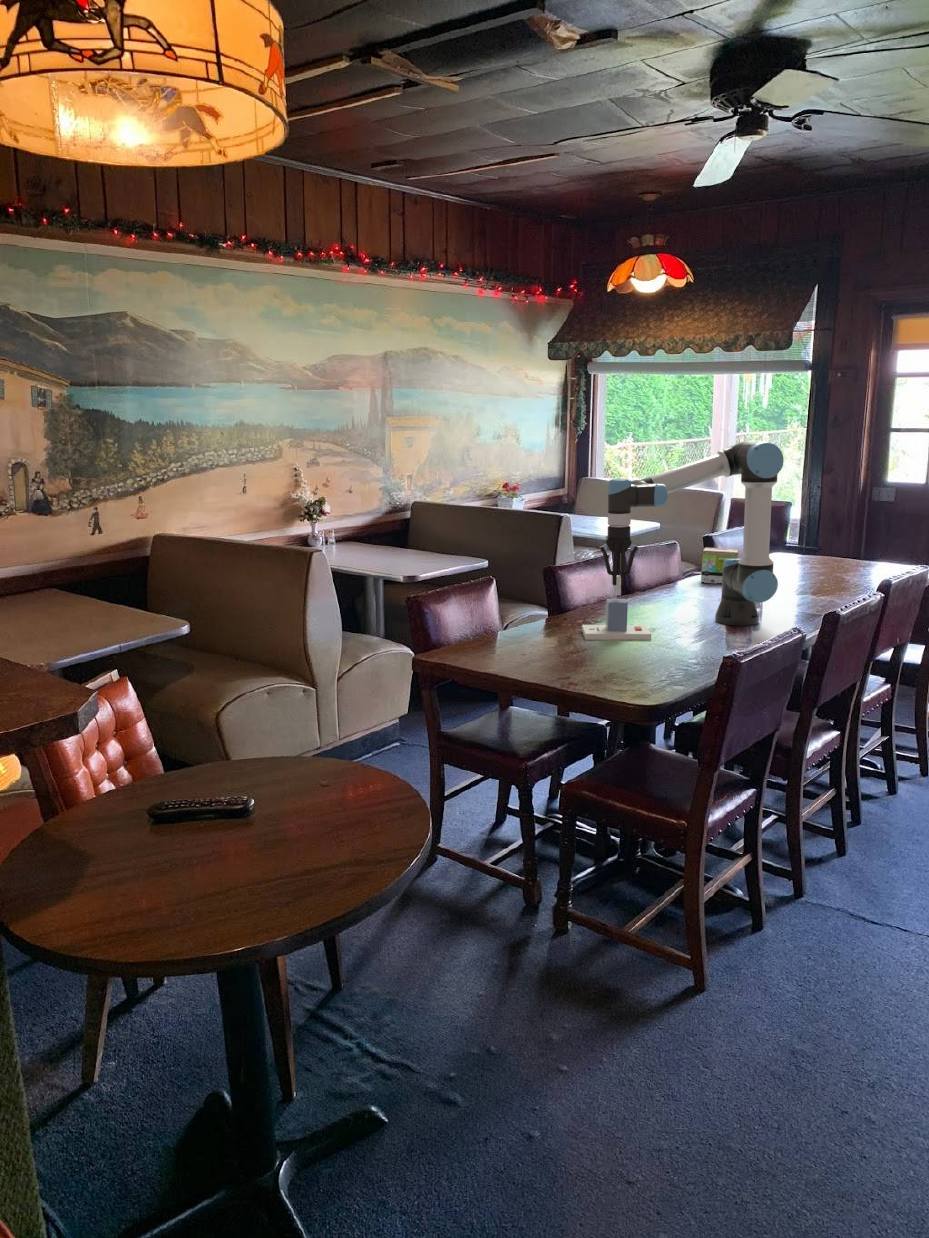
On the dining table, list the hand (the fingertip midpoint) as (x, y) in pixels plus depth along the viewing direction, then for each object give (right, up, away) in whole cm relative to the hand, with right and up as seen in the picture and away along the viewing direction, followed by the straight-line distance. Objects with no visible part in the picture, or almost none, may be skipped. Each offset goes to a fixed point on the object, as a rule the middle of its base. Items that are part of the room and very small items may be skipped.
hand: (618, 594), depth 317 cm
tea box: (+60, +8, +95) cm, 113 cm away
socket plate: (0, -14, +2) cm, 14 cm away
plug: (0, -14, +2) cm, 14 cm away
